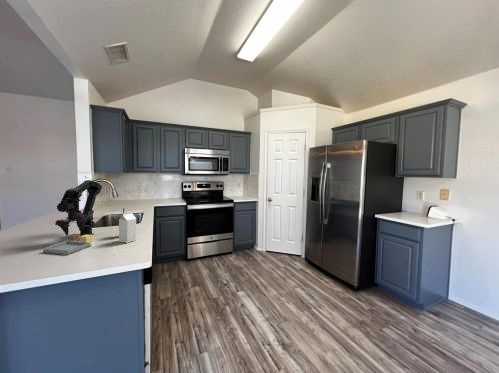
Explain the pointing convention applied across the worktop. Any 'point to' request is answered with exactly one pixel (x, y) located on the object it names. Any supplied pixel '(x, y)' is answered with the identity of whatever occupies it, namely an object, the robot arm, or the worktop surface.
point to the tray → (67, 247)
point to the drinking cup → (120, 216)
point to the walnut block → (74, 237)
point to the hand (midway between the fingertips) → (74, 233)
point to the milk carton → (127, 228)
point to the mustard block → (86, 238)
